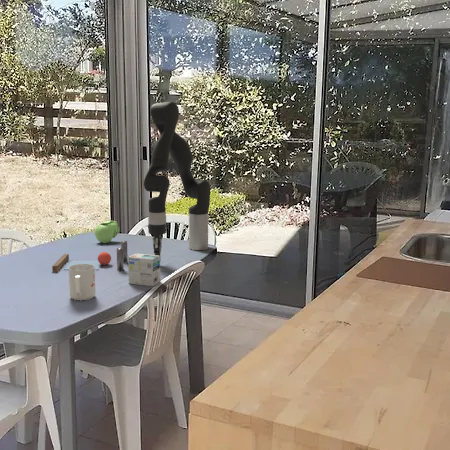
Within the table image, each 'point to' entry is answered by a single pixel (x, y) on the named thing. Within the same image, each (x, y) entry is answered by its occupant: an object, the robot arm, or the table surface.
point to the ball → (104, 258)
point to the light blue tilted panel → (95, 263)
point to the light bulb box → (144, 269)
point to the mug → (82, 281)
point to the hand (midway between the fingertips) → (157, 262)
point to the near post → (120, 259)
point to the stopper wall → (60, 263)
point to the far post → (124, 251)
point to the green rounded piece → (106, 231)
